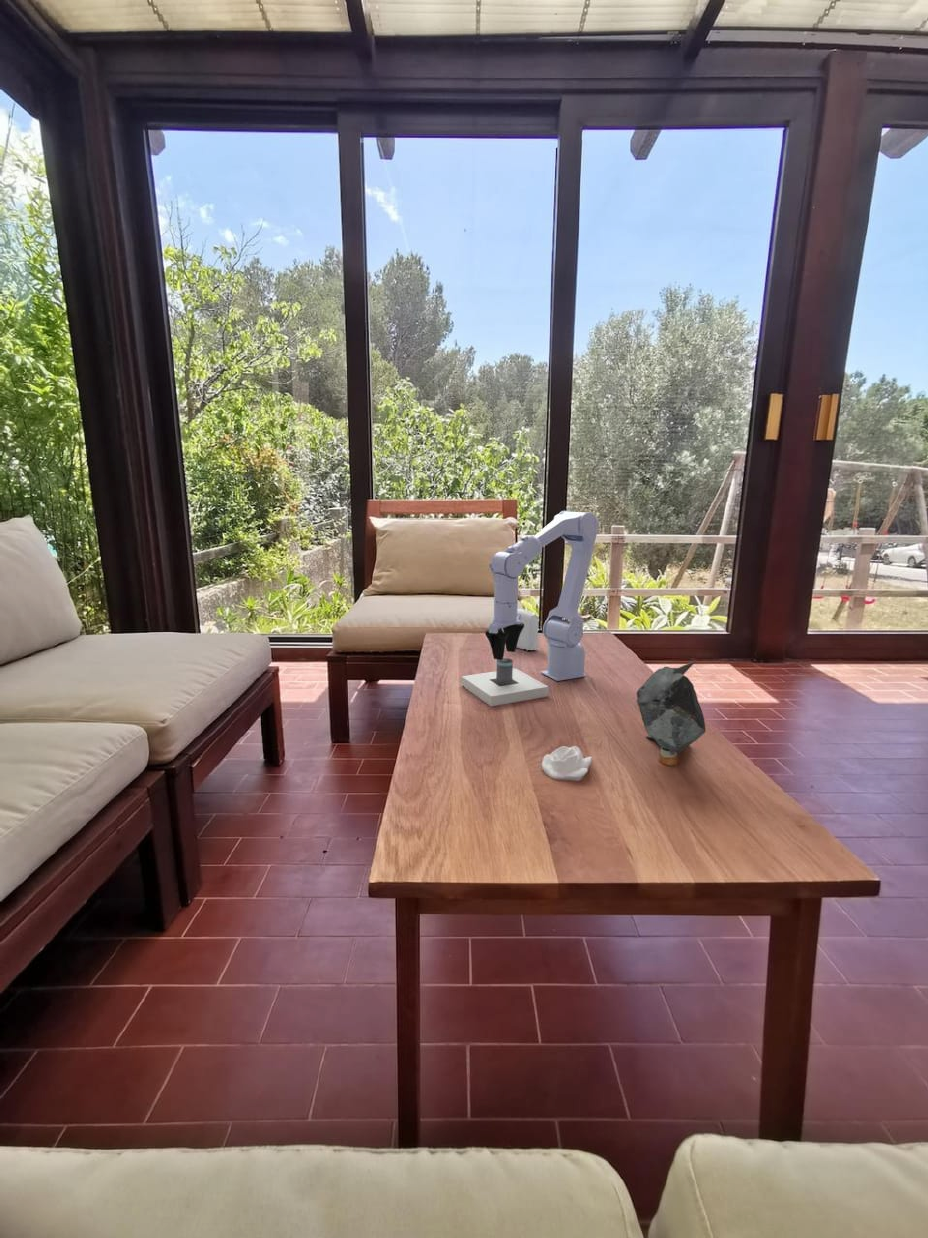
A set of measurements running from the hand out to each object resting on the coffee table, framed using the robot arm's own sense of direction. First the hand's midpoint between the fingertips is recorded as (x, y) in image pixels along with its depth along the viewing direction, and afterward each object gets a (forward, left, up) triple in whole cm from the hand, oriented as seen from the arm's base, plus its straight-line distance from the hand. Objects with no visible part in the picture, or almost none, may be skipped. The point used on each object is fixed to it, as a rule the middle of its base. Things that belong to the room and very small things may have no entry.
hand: (504, 655), depth 148 cm
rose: (+10, +41, -10) cm, 44 cm away
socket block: (0, 0, -9) cm, 9 cm away
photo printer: (-25, -32, -10) cm, 42 cm away
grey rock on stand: (-11, +45, -10) cm, 47 cm away
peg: (0, 0, -9) cm, 9 cm away
